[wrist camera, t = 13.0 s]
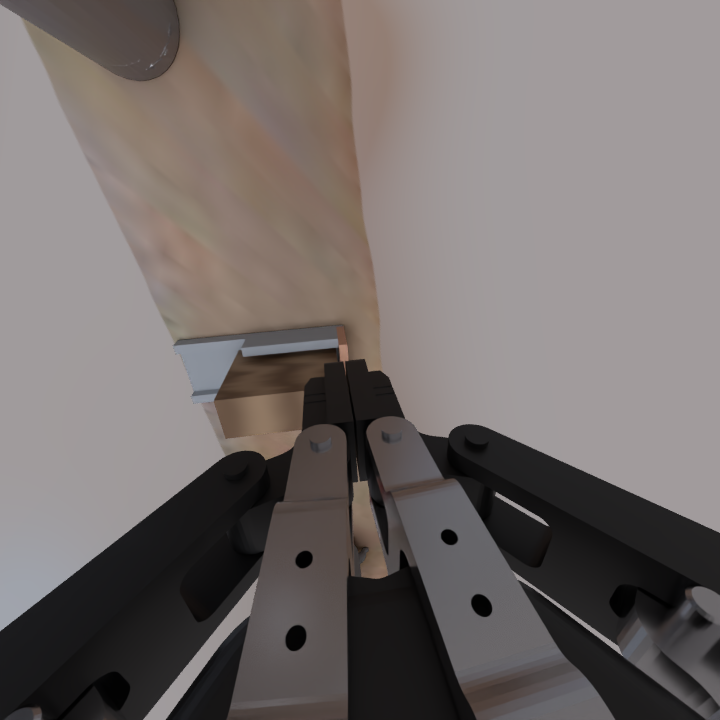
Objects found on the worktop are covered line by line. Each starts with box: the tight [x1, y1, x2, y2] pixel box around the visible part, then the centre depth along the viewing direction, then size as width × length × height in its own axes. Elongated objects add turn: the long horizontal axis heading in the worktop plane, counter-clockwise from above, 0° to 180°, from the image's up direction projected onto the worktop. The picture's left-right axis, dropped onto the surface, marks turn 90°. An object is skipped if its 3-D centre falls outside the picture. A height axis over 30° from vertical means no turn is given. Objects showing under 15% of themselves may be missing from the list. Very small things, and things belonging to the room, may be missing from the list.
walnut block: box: [214, 348, 338, 439], centre depth 39 cm, size 13×5×12 cm, turn 93°
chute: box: [173, 325, 349, 403], centre depth 42 cm, size 22×9×7 cm, turn 93°
